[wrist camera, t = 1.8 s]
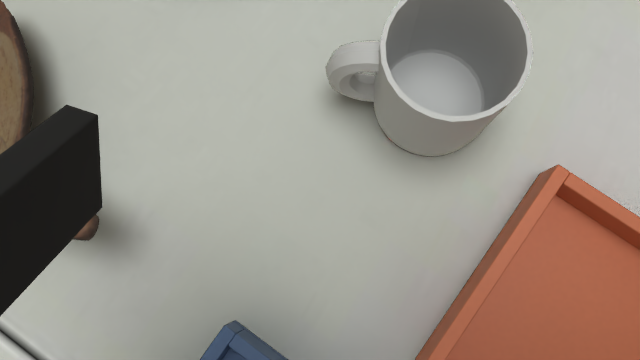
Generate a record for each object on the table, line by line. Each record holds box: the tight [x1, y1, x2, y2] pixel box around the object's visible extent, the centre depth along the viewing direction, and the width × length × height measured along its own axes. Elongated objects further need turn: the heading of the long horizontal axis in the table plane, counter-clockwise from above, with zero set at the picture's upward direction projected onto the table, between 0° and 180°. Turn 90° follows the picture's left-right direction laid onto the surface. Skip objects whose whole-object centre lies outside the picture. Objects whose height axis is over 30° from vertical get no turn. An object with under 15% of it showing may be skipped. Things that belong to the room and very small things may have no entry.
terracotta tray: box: [415, 165, 640, 360], centre depth 32 cm, size 14×14×3 cm
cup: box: [326, 0, 533, 156], centre depth 32 cm, size 7×10×9 cm
